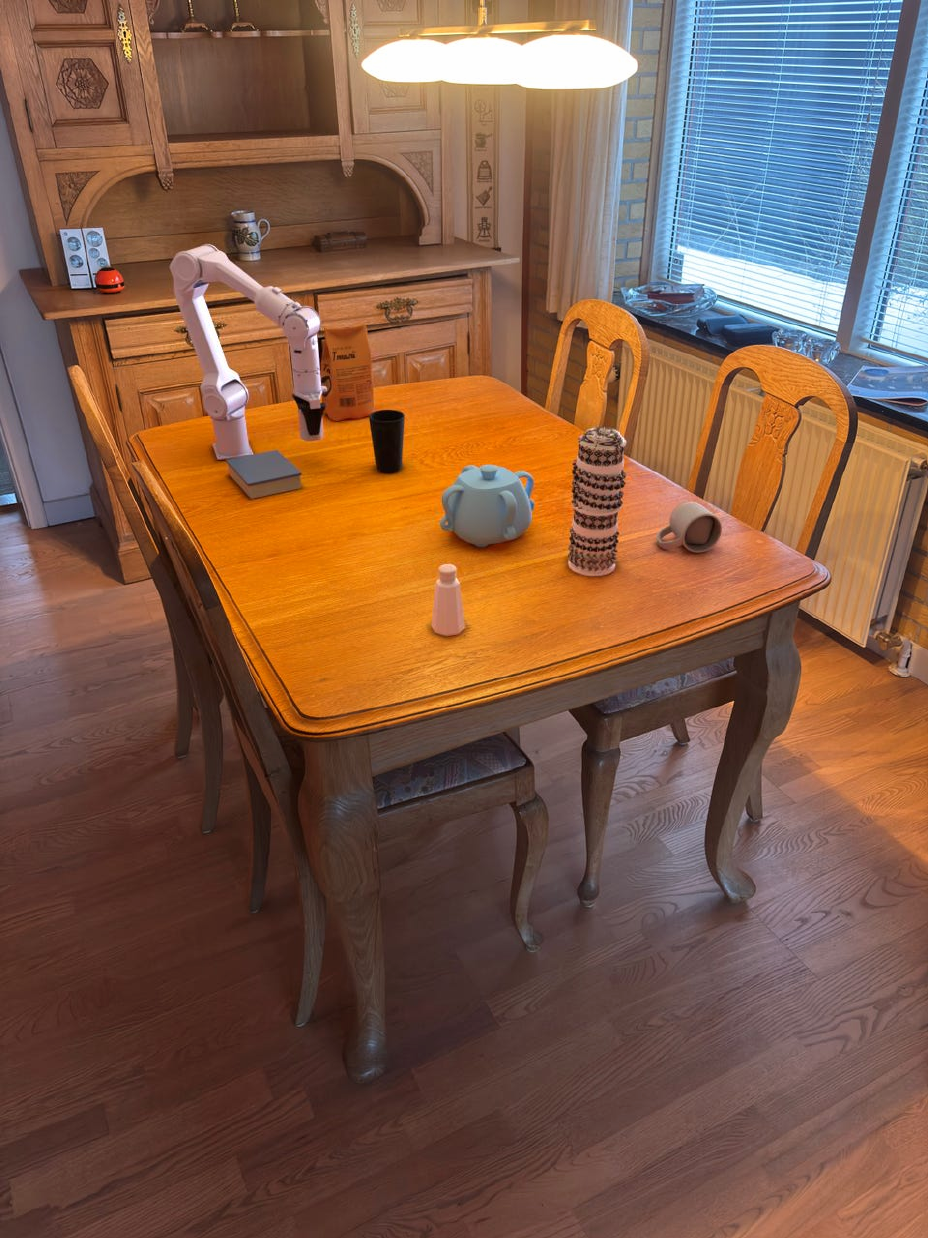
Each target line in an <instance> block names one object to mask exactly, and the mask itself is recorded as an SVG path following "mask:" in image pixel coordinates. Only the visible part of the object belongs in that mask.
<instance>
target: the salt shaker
mask: <svg viewBox="0 0 928 1238" xmlns="http://www.w3.org/2000/svg"><path fill="white" fill-rule="evenodd" d="M438 577H439V578H438V579H437V580H436V581H435V586H434V596H433V608H432V617H431V628H432V629H433V632H434V633H435V634H436V635H441V636H445V637H451V636H456V635H457V636H458V635H460V634H461V633H462V631H464V629H465V628H466V623H465V614H464V606H463V597H462V589H461V584H460V583H461V582H460V581H459V580H458V578H457V566H455V565H454V564H451V563H444V564H442V565H439V567H438Z"/></svg>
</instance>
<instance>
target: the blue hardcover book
mask: <svg viewBox="0 0 928 1238" xmlns="http://www.w3.org/2000/svg"><path fill="white" fill-rule="evenodd" d="M225 463H226V465H227V466H228V474H229V476H230V477H231V479H232V480H233V481H234V482H235V483H236V484H237V485H238V486H239V488H240V489H241V490H242V492H244V493H245V494H246V495H247V497H248V498H249V499H250V500H253V499H254V500H255V499H259V498H263V497H268V496H271V495H272V496H273V495H276V494H281V493H284V492H289V491H294V490H299V489H302V481H301V476H302V475H303V473H302V472H301V470H299V469H298V467H296V466H295V465H294V464H293V463H292V462H291V461H290V460H289V459H288V458H286V457H285V455H283V454H282V453H281V452H280V451H279V450H278V449H274V450H268V451H264V452H259V453H253V455H248V456H243V457H238V458H232V459H225Z"/></svg>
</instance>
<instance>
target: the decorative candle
mask: <svg viewBox="0 0 928 1238" xmlns="http://www.w3.org/2000/svg"><path fill="white" fill-rule="evenodd" d="M577 442H578V451H577V456H576V459H574V460H573V463H572V466H573V467H572V468H573V469H572V470H571V474H572V475H573V477H572V481H571V484H572V489H571V490H570V491H571V493H572V500H571V505H572V507H573V518H572V522H571V523H572V524H571V528H570V529H569V532H570V536H569V538H568V539H569V541H570V542H569V545H568V551H569V552H568V554H567V557H568V561H567V565H568V567H569V569H570V570H572V572H574V573H576V574H579V575H582V576H586V577H602V576H606V575H610V573H612V572H614V571H615V569H616V560H618V557H617V553H618V551H619V550H618V548H617V546H618V543H619V539H618V537H619V535H620V532H619V531H618V530H619V529H618V526H619V521H618V517H619V511H621V509H622V505H623V504H624V502H623V500H622V498H623V497H624V495H625V493H624V492H623V491H622V490H621V489H623V488H625V486H626V485H627V484H626V481H625V479H626V478H627V472H625V470H624V469H623V468H624V467H625V466H624V465H625V458H624V453H625V447H626V446H627V444H628V441H627V439H626V438H625V437H623V436H622V435H621V433H620V432H619V431H618V430H617V429H615V428H611V427H606V426H596V427H591V428H589V429H587V430H586V431H585V432H584V433H583V434H582V435H580V436H579V437H578V438H577Z"/></svg>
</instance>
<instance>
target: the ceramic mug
mask: <svg viewBox="0 0 928 1238" xmlns="http://www.w3.org/2000/svg"><path fill="white" fill-rule="evenodd" d="M722 531H723V526H722V522H721V520H720V518H719V517H718V516H716V515H715V514H714V513H713V512H712V511H710V510H709V509H708V508H706V507H705V506H704V505H702V504H701V503H698V502H695V501H691V500H689V501H684V502H682V503H680V504H678V505H677V506H676V507H674V508H673V510H672V512H671V513H670V516H669V525H666V526H665V527H664V528H662V529H660V530H659V531H658V532H657V534H656V541H657V545H658V547H660V548H661V549H663V550H672V549H675V548H678V547H681V546H683V547H684V548H685V549H686V550H688V551H689V552H691V553H694V554H695V553H697V554H699V553H705V552H708V551H709V550H712V548H713V547H715V546H716V545H717V544H718V543H719V541H720V539H721V536H722ZM671 533H673V535H674V536H675V539H673V540H669V541H663V538H664V537H666V536H667V535H669V534H671Z"/></svg>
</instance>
